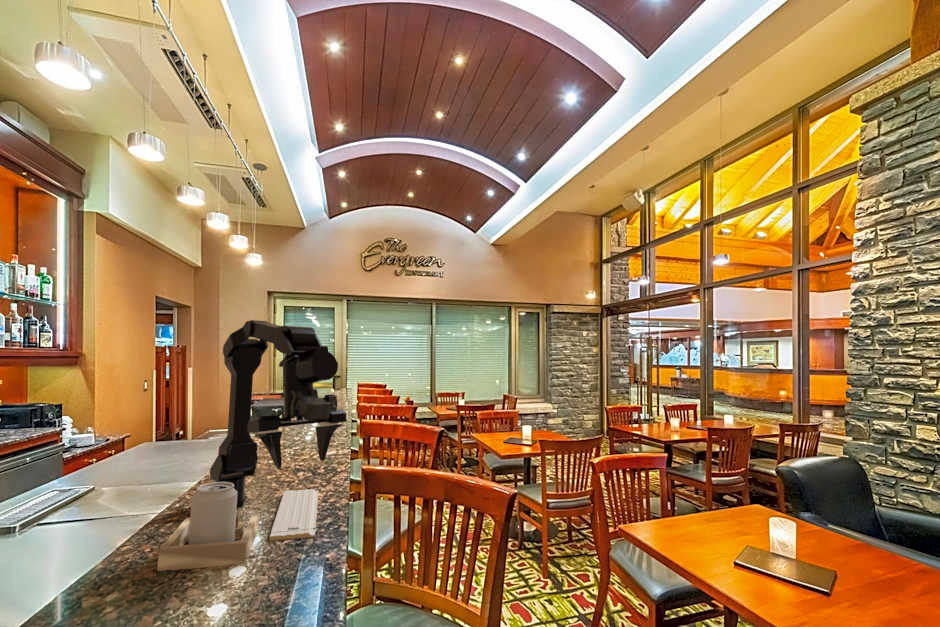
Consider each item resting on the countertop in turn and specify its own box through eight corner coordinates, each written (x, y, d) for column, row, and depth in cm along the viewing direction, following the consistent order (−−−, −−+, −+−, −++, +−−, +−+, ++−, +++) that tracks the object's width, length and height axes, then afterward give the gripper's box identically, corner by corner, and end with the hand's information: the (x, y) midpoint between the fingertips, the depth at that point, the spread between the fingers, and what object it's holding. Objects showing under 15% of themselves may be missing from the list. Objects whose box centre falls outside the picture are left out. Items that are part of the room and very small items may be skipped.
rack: (184, 536, 91) (185, 518, 91) (258, 530, 95) (259, 513, 95) (157, 571, 77) (158, 550, 77) (245, 563, 80) (246, 542, 81)
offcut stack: (199, 535, 92) (201, 514, 92) (243, 531, 94) (244, 511, 94) (194, 543, 88) (195, 521, 88) (240, 539, 90) (241, 518, 91)
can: (242, 544, 88) (246, 480, 89) (218, 562, 81) (223, 492, 82) (204, 542, 88) (209, 478, 89) (177, 560, 81) (182, 490, 82)
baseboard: (324, 493, 122) (283, 496, 119) (324, 483, 122) (284, 485, 119) (322, 539, 93) (268, 544, 90) (322, 524, 93) (269, 529, 90)
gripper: (271, 383, 83) (274, 473, 80) (359, 379, 97) (364, 456, 93) (245, 389, 90) (246, 473, 87) (330, 385, 104) (334, 457, 101)
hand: (301, 464), depth 92 cm, fingers open, 9 cm apart
